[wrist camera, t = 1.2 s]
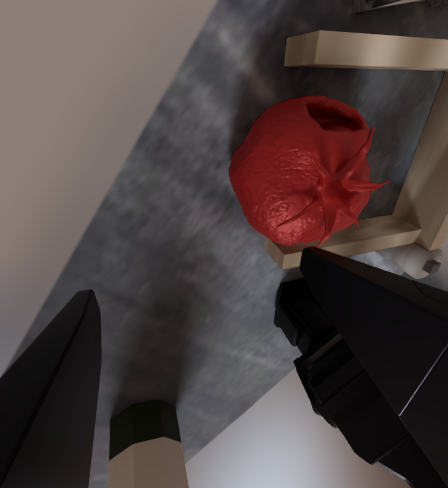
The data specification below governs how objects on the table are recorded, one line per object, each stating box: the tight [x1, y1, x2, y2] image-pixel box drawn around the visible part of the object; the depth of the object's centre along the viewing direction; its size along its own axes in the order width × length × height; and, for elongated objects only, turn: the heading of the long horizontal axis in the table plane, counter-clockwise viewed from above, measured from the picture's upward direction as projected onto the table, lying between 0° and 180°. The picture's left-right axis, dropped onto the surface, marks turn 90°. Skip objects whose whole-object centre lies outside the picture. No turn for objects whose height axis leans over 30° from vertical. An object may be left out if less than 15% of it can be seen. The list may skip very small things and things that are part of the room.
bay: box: [264, 30, 448, 279], centre depth 22 cm, size 18×20×6 cm
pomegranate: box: [229, 95, 391, 247], centre depth 18 cm, size 10×10×9 cm
